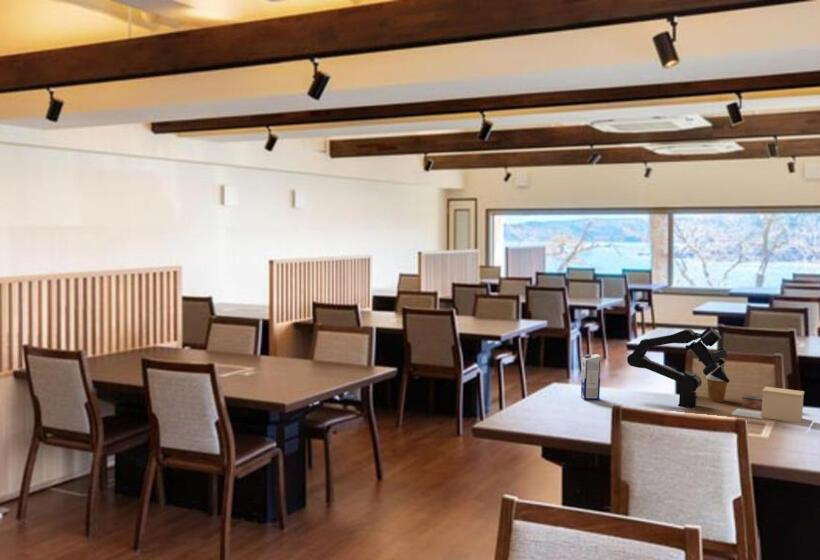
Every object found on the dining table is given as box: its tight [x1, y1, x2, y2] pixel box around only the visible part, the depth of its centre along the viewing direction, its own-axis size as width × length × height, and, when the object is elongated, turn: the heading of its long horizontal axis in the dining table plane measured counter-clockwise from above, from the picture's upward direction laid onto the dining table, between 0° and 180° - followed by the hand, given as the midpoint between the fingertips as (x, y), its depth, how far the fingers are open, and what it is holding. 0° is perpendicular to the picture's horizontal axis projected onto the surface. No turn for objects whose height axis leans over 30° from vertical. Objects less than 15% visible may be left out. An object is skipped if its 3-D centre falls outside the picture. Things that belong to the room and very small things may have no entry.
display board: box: [731, 408, 764, 420], centre depth 320 cm, size 24×13×1 cm, turn 57°
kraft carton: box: [760, 386, 805, 423], centre depth 316 cm, size 14×9×11 cm, turn 57°
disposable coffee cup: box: [705, 372, 729, 403], centre depth 348 cm, size 10×10×12 cm
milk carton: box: [580, 353, 602, 402], centre depth 346 cm, size 7×7×20 cm
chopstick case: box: [741, 394, 762, 410], centre depth 333 cm, size 20×5×5 cm, turn 57°
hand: (728, 382), depth 327 cm, fingers closed
